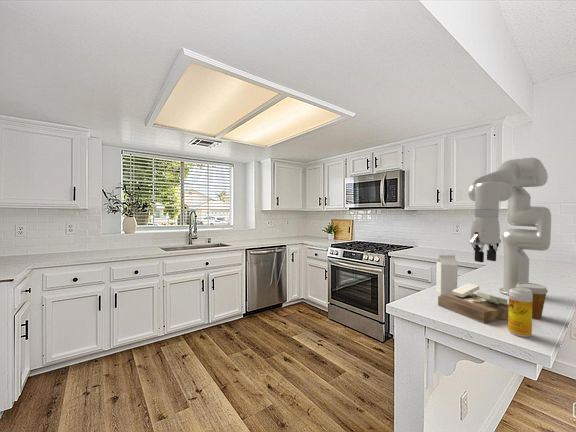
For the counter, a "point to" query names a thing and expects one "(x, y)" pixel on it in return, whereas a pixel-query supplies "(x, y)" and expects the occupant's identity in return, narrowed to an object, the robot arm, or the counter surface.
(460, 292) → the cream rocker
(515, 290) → the beer can
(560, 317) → the counter surface
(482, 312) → the switch unit
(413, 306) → the counter surface
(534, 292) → the disposable coffee cup
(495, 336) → the counter surface
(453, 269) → the milk carton
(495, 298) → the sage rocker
